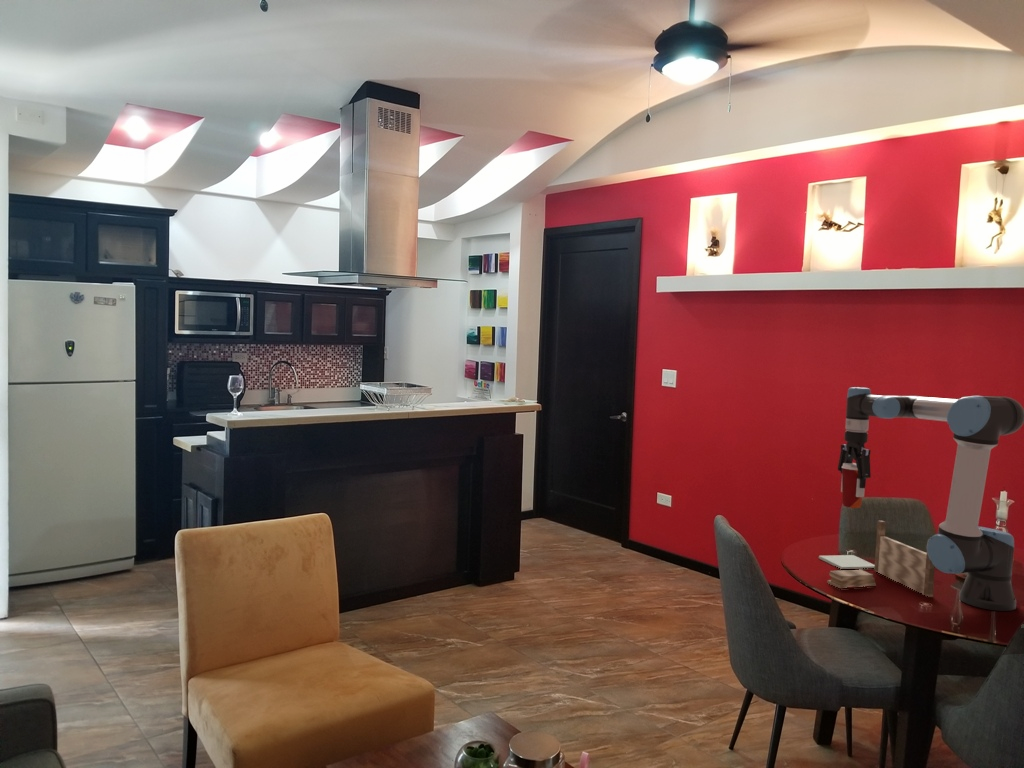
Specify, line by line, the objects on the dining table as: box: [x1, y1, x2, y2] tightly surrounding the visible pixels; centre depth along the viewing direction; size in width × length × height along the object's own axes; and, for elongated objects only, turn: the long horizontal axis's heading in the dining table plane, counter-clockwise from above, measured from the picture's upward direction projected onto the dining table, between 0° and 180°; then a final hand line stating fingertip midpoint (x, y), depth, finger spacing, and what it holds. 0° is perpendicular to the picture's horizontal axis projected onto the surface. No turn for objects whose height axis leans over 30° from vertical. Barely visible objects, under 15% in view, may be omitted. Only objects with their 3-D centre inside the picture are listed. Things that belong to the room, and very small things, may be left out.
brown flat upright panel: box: [873, 520, 936, 598], centre depth 261 cm, size 26×2×18 cm, turn 11°
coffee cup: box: [841, 462, 863, 509], centre depth 282 cm, size 8×8×15 cm
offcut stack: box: [827, 569, 877, 589], centre depth 258 cm, size 14×7×4 cm, turn 108°
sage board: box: [818, 554, 875, 570], centre depth 283 cm, size 14×14×1 cm
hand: (852, 494), depth 282 cm, fingers closed on coffee cup, 8 cm apart
